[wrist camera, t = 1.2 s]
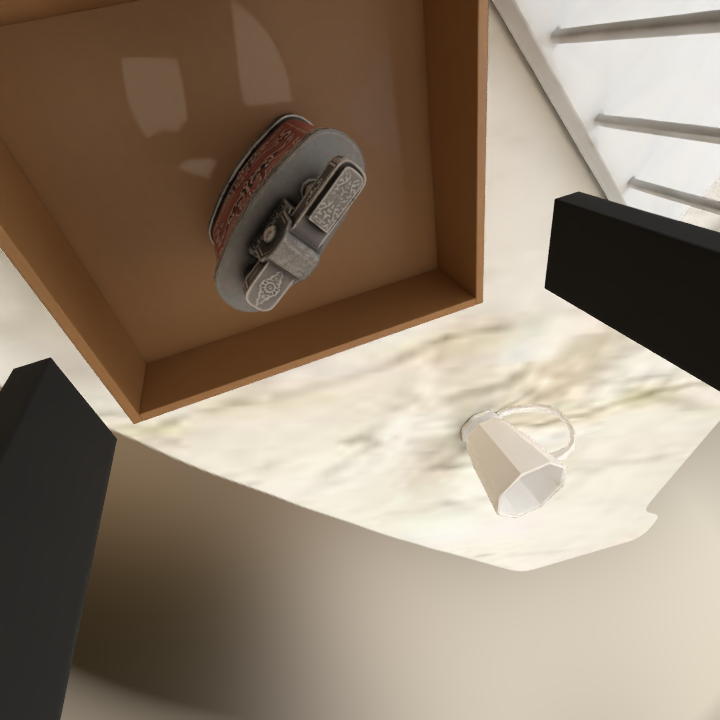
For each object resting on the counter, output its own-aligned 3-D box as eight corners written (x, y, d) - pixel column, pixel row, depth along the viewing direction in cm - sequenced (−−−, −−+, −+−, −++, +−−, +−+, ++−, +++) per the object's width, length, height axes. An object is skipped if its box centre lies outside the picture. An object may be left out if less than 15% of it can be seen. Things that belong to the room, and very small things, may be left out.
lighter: (247, 264, 24) (276, 356, 16) (192, 230, 22) (195, 316, 14) (331, 144, 22) (411, 184, 14) (279, 95, 20) (338, 109, 12)
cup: (437, 430, 38) (484, 500, 32) (525, 367, 38) (592, 426, 31) (462, 462, 43) (509, 529, 37) (542, 407, 42) (604, 465, 36)
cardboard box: (-88, 23, 15) (-183, 6, 11) (427, -69, 18) (491, -107, 15) (142, 371, 25) (133, 424, 22) (443, 271, 29) (483, 302, 25)
